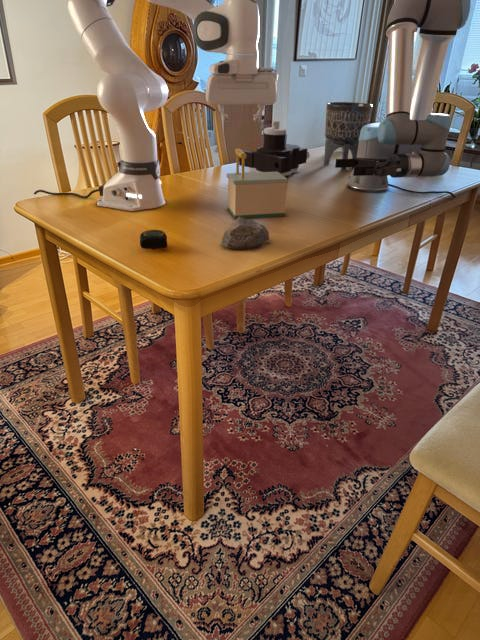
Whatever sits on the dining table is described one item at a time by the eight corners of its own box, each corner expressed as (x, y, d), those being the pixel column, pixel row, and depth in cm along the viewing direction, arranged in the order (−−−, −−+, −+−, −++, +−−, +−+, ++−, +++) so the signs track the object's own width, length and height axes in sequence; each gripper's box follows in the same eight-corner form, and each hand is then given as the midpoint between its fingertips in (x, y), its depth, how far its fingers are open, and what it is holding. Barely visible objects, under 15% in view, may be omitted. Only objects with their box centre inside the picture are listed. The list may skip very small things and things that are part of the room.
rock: (255, 233, 128) (256, 211, 124) (276, 242, 122) (278, 219, 119) (217, 244, 120) (217, 220, 117) (239, 254, 115) (239, 230, 111)
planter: (313, 167, 208) (319, 103, 195) (331, 160, 222) (338, 101, 209) (353, 173, 199) (362, 107, 185) (369, 166, 213) (379, 104, 199)
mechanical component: (240, 120, 182) (283, 115, 202) (239, 174, 192) (280, 164, 212) (283, 126, 170) (325, 120, 190) (280, 183, 180) (320, 171, 200)
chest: (235, 218, 140) (235, 184, 135) (228, 209, 149) (228, 177, 144) (285, 216, 144) (287, 182, 139) (275, 207, 152) (277, 175, 147)
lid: (233, 184, 135) (234, 153, 131) (226, 176, 144) (226, 147, 139) (287, 182, 139) (289, 152, 134) (277, 175, 147) (278, 146, 143)
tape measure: (140, 252, 115) (139, 238, 113) (141, 242, 120) (140, 229, 119) (167, 251, 116) (166, 237, 114) (167, 241, 121) (166, 228, 120)
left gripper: (274, 67, 129) (272, 119, 136) (204, 65, 125) (205, 120, 132) (281, 67, 124) (278, 122, 131) (208, 66, 120) (208, 123, 127)
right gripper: (386, 148, 159) (330, 149, 155) (428, 160, 138) (364, 161, 133) (382, 170, 163) (327, 171, 158) (422, 185, 141) (360, 187, 137)
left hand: (241, 121), depth 132 cm, fingers open, 8 cm apart
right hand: (344, 167), depth 146 cm, fingers open, 13 cm apart
